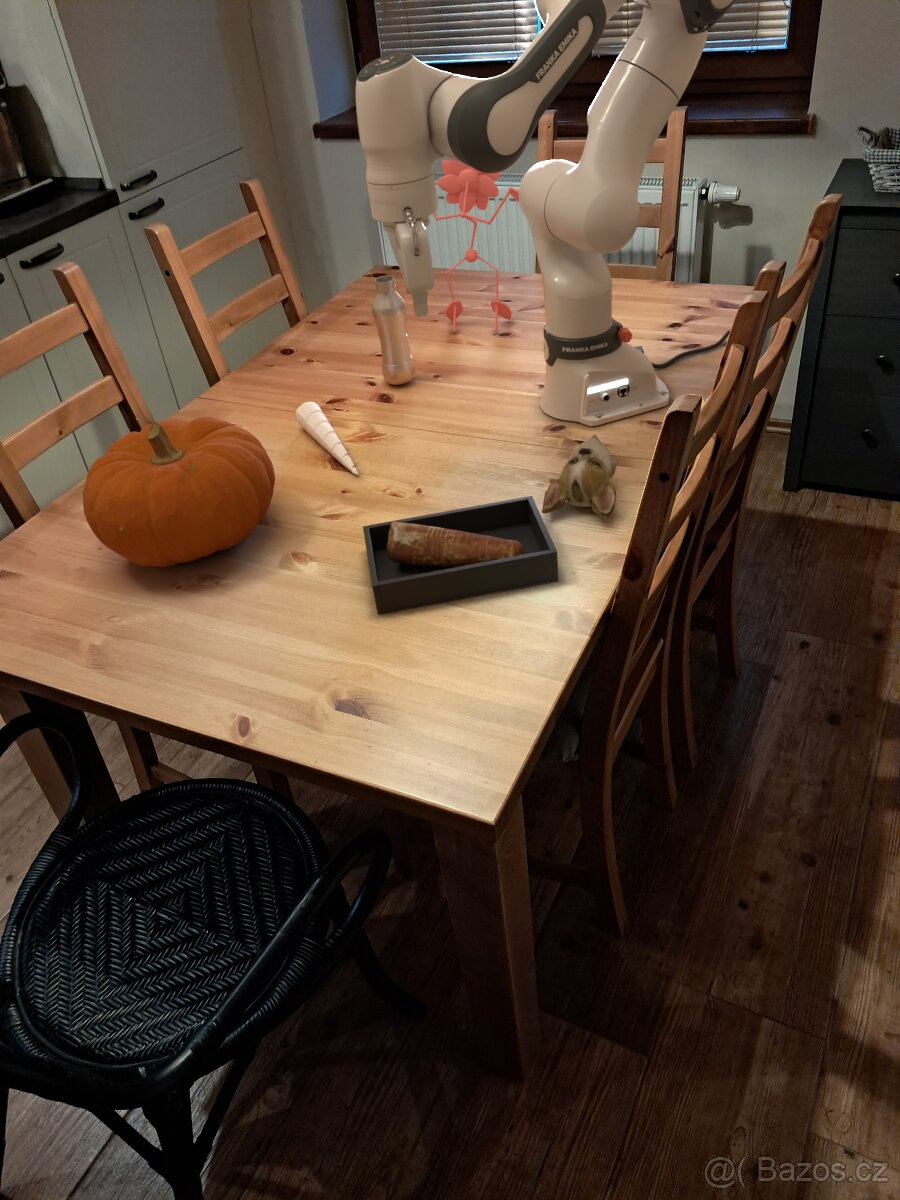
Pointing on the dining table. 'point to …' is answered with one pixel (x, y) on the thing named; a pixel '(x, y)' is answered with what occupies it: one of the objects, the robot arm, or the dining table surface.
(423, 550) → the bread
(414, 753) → the dining table surface
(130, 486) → the pumpkin
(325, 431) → the unicorn horn
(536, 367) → the dining table surface
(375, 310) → the plastic bottle
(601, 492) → the ceramic sculpture
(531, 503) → the tray
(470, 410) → the dining table surface
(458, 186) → the figurine
